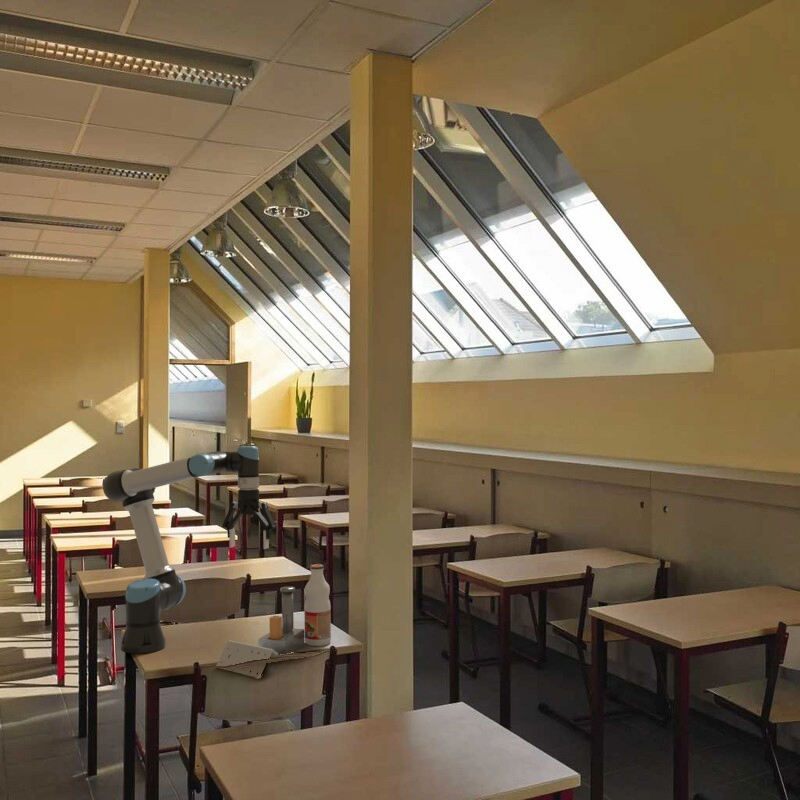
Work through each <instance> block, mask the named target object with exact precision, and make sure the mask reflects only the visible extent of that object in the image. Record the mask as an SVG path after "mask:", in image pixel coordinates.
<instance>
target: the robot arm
mask: <svg viewBox="0 0 800 800" xmlns="http://www.w3.org/2000/svg"><path fill="white" fill-rule="evenodd" d="M259 471H260V455H259V447H257V446H255V445H244V446H243V445H240V446H238V447H237V450H236V451H219V450H217V451H210V452H207V453H204V452H201V453H197V454H195V455H193V456H189V457H185V458H180V459H176V460H174V461H173V460H172V461H168V462H165V463H162V464H157V465H154V466H153V465H152V466H149V467H146V468H136V467H135V468H129V469H128V468H127V469H123V470H115V471H113V472H109V474H108V475H106V476H105V478H104V480H103V483H102V492H103V493H104V495H105V497H106V498H107V499H108V500H110V501H111V502H115V503H122V508H123V509H124V510H125V511H127V512H128V513H129V517H130V521H131V524H132V527H133V531H134V534H135V538H136V541H137V542H136V543H137V546H138V549H139V551H140V555H141V559H142V563H143V566H144V570H145V575H144V577H143V578H142V579H137V580H135V581H132V582H130V583H129V584H128V585H127V586H126V589H125V590H126V591H125V622H126V623H125V625H126V626H125V630H124V633H123V637H122V639H121V642H120V651H121V652H123V653H126V654H149V653H152V652H157V651H160V650H162V649H164V648H165V647H166V638H165V635H164V631H163V629H162V626H161V613H162V612H164V611H167V610H169V609H173V608H174V607H176V606H177V605H179V604H180V603H181V602H182V601H183V600H184V598H185V595H186V591H187V590H186V589H187V587H186V583H185V581H184V579H183V578H182V577H180V576H179V575H178V574H177V572H176V569H175V568H174V567H172V566H170V564H169V561H168V557H167V553H166V550H165V547H164V543H163V539H162V536H161V533H160V528H159V525H158V522H157V518H156V514H155V511H154V508H153V504H154V502H155V495H154V493H155V492H156V489H157V488H159V487H163V486H167V485H171V484H175V483H179V482H182V481H187V480H191V479H196V478H199V477H200V478H201V477H203V476H209V475H214V474H215V475H216V474H219V473H237V488H239V489H238V490H237V497H238V498H237V499H238V502H237V501H231V502H230V503H229V510H228V512H227V514H226V516H225V519H224V520H223V523H222V528H226V529H227V538H228V539H229V548H230V549H231V548H234V547H236V528H235V525H236V524H238V521H239V520H240V519H241V518H242V516H243V515H245V516H247V515H248V516H252V515H253V516H254V517H255V518H256V519H257V521H258V522H259V523H260V524H261V526H262V527H263V528H264V529H265V530H263V550H266V549H269V548H270V539H271V538H272V530H273V529H275V528H276V527H277V525H276V522H275V521H274V518H273V516H272V515H271V512H270V510H269V506H268V502H267V501H265V502H260V489H259V488H260V475H259V474H260V472H259ZM237 508H239V509H238V511H237V512H236V509H237ZM259 508H260V509H261V510H260V509H259ZM261 511H262V512H261ZM235 512H236V514H235ZM262 513H263V514H262ZM234 514H235V516H234Z"/></svg>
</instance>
